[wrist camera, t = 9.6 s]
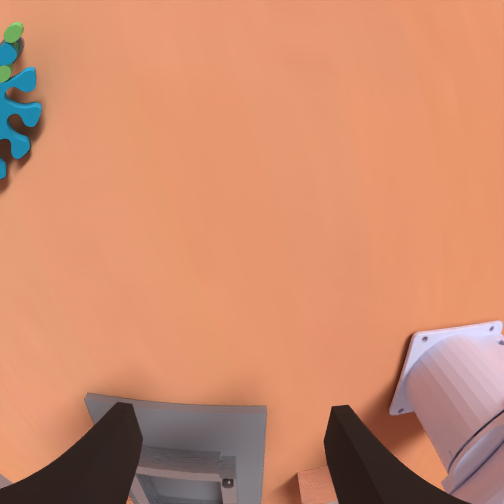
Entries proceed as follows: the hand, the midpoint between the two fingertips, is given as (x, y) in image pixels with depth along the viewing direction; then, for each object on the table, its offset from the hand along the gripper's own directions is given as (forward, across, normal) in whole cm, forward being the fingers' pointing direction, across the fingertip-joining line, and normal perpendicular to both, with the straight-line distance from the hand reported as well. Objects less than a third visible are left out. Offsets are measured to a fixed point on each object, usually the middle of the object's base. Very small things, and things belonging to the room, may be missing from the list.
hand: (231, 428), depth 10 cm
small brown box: (+10, -8, +20) cm, 23 cm away
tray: (+9, +5, +18) cm, 21 cm away
